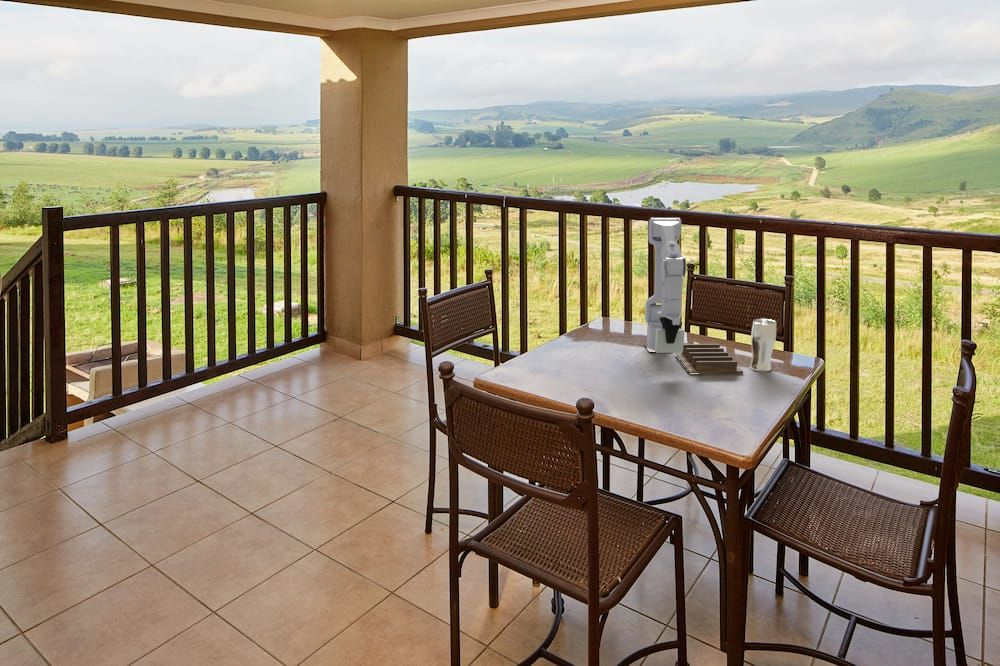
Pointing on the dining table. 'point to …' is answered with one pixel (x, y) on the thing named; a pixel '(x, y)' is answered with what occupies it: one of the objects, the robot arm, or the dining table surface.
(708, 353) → the rack
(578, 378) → the dining table surface
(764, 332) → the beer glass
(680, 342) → the tile
